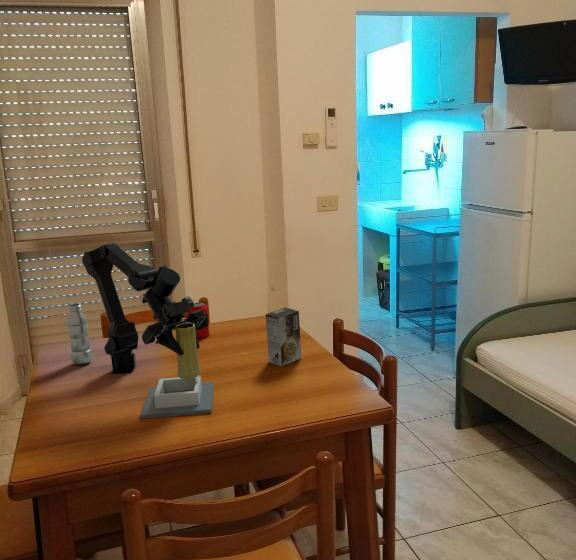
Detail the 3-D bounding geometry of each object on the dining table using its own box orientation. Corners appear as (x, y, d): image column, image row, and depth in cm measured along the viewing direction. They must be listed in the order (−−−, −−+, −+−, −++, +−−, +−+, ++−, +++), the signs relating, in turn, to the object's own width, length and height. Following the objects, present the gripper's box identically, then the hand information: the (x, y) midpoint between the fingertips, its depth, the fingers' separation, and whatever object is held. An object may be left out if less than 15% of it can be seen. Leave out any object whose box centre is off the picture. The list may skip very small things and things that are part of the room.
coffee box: (287, 354, 183) (285, 307, 179) (302, 358, 178) (299, 310, 175) (267, 362, 176) (264, 313, 173) (281, 367, 172) (279, 317, 168)
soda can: (210, 332, 210) (207, 301, 207) (208, 338, 202) (206, 306, 200) (190, 333, 209) (187, 302, 207) (187, 339, 202) (185, 308, 199)
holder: (140, 418, 142) (139, 402, 141) (151, 390, 159) (149, 375, 158) (211, 412, 143) (210, 396, 142) (214, 384, 161) (212, 370, 160)
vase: (205, 373, 154) (201, 324, 150) (188, 381, 149) (184, 330, 146) (189, 369, 157) (185, 320, 154) (173, 376, 152) (168, 326, 149)
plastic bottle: (94, 364, 182) (86, 305, 177) (72, 368, 179) (63, 308, 175) (93, 358, 188) (85, 301, 183) (71, 361, 185) (63, 304, 181)
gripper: (143, 296, 143) (174, 345, 139) (199, 282, 157) (228, 326, 152) (129, 320, 150) (157, 368, 146) (183, 304, 164) (211, 347, 159)
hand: (190, 351), depth 150 cm, fingers closed on vase, 5 cm apart
